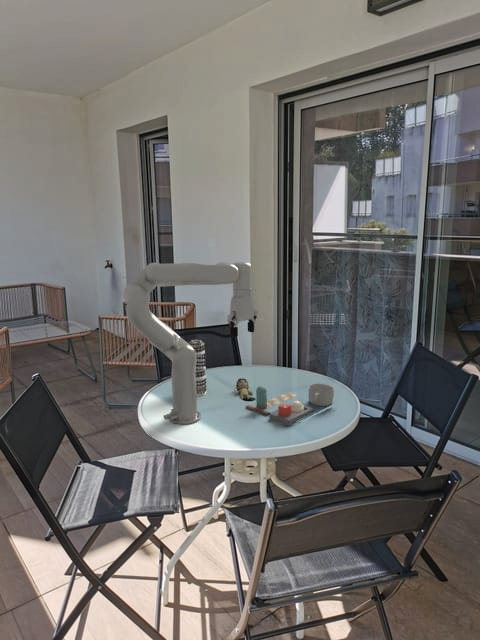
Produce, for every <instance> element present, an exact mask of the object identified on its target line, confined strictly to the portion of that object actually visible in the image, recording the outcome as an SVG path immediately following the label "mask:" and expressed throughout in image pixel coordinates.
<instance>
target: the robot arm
mask: <svg viewBox="0 0 480 640" xmlns="http://www.w3.org/2000/svg"><path fill="white" fill-rule="evenodd" d="M230 284H232V297H231V298H230V304H229V305H230V308H229V314H228V315H227V316H226V321H227V324H228V325H229V326H230V332H231V334H230V335H231V336H232V337H235V338H237V337H238V336H239V330H238V329H239V328H238V325H239V323H241V322H245V321H247V332H249V333H255V323H256V319H257V317H258V313H259V312H258V311H259V310H256V309H255V306H254V299H253V295H252V293H253V289H252V265H251V263H250V262H245V261H237V262H223V261H222V262H218V263H216V264H202V263H196V262H181V263H179V262H177V263H158V262H151V263H149V264H147V265H146V266H145V267H144V268H143V269H142V270H141V271H140V272H139V273H137V274H136V276H135V277H134V278H133V279H132V280H131V281H130V282H128V283H127V285H126V286H125V288H124V289H123V293H122V296H123V299H124V301H125V302H126V316H127V319H128V322H129V323H130V324H131V326H133V328H134V329H135V330H137V332H139V333H140V334H141V335H142V336H144V338H146V339H147V341H148V342H149V343H150V344H151V345H152V346H154V347H155V348H157V349H158V351H160V352H161V353H163V354H164V355H165V356H166V357H167V358H168V359H170V360H171V364H172V365H171V391H172V392H171V393H172V394H171V395H172V409H170V412H169V413H166V414H164V415H163V420H164V421H166V420H169V421H170V422H172V423H174V424H178V425H189V424H193V423H196V422H198V421H199V420H200V419H201V418H202V414H201V412H199V410H198V404H197V402H198V400H197V396H196V375H195V370H196V352H195V350H194V348H193V347H192V346H191V345H190V344H188V343H189V342H187V341H186V340H184V338H182V337H181V336H179V334H177V333H176V331H174V330H173V329H172V328H171V327H170V326H169V325H167V323H165V322H163V321H162V320H161V319H160V318H158V317H157V316H156V315H155V314H154V313H153V312H152V311H151V310H150V301H151V296H150V294H151V292H152V291H154V289H155V288H156V287H174V286H175V287H177V286H216V285H230Z"/></svg>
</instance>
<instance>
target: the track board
mask: <svg viewBox="0 0 480 640" xmlns="http://www.w3.org/2000/svg"><path fill="white" fill-rule="evenodd" d="M296 396H298V394H294V393H292V392H288V391H287V392H285V393H283V394H281V395H279V396H275V397H273V398H271V399H267V408H265V409H258V408H257V405H253V406H252V405H250V404H247V405H245V409H248V410H250V411H253V412H255V413H258V414H260V415H264V416H269V413H271V412H270V411H266V410H268V409H270V408H271V407H274V406H276V405H278V404H279V405H280V403H283V402H285V401H287V400H289V399H292V398H294V397H296Z"/></svg>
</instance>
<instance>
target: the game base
mask: <svg viewBox="0 0 480 640" xmlns="http://www.w3.org/2000/svg"><path fill="white" fill-rule="evenodd" d="M290 404H291V403H289V404H287V403H282V404H281V403H280V404H279V405H278V406H277V407H278V409H277V410H274V411H272V412H270V413H269V415H268V416H269V420H271V421H272V422H276V423H279V424H280V425H284V426H286V427H291V426H293V425H296V424H297V423H298V422H301V421H303V420H305V419H307V418H309V417H311V416H313V415H314V411H315V410H314V407H310V406H307V405H304V404H302V405H303V406H304V411H302V412H300V413H295V412H292V411H291V405H290ZM297 420H298V421H297Z"/></svg>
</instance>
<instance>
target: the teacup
mask: <svg viewBox="0 0 480 640" xmlns="http://www.w3.org/2000/svg"><path fill="white" fill-rule="evenodd" d="M334 396H335V388H334V386H332V385H329V384H326V383H311V384H309V385H308V401H309V402H310V404H312V405H315V406H316V407H317V406H318V407H327V406H330V405H331V404H332V403H333V400H334Z"/></svg>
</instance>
